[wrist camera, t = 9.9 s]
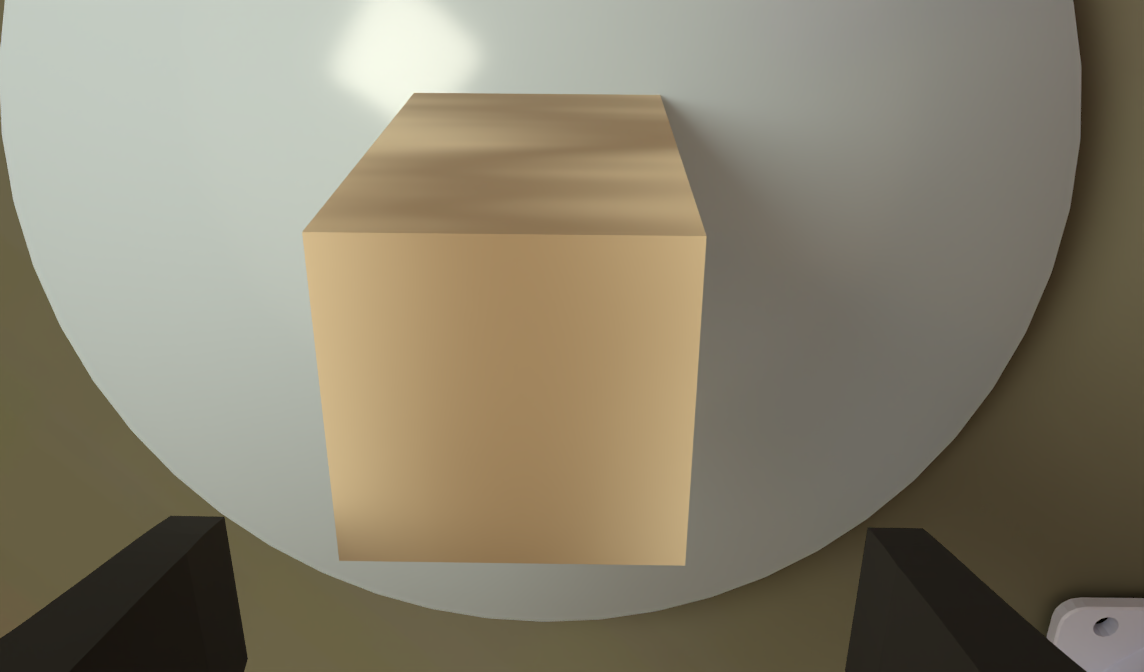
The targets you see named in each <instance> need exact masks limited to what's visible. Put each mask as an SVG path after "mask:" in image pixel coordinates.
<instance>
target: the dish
mask: <svg viewBox="0 0 1144 672" xmlns="http://www.w3.org/2000/svg"><path fill="white" fill-rule="evenodd" d="M1081 68H1082V67H1081V59H1080V51H1079V43H1078V35H1077V27H1076V19H1075V11H1074V3H1073V0H5V6H4V16H3V27H2V37H1V48H0V100H1V125H2V138H3V143H4V149H5V155H6V161H7V166H8V172H9V178H10V184H11V189H12V195H13V201H14V205H15V208H16V211H17V214H18V218H19V221H20V224H21V227H22V231H23V234H24V237H25V240H26V243H27V247H28V250H29V253H30V256H31V260H32V263H33V266H34V268H35V271H36V273H37V275H38V277H39V280H40V282H41V284H42V286H43V288H44V291H45V293H46V295H47V297H48V300H49V302H50V304H51V306H52V308H53V311H54V313H55V315H56V317H57V320H58V322H59V324H60V326H61V328H62V330H63V331H64V333H65V335H66V336H67V338H68V340H69V341H70V343H71V345H72V346H73V348H74V350H75V351H76V353H77V355H78V356H79V358H80V359H81V361H82V363H83V364H84V366H85V368H86V369H87V371H88V373H89V374H90V376H91V378H92V379H93V381H94V382H95V384H96V385H97V386H98V388H99V389H100V390H101V391H102V393H103V394H104V395H105V397H106V398H107V399H108V401H109V402H110V403H111V404H112V406H113V407H114V408H115V410H116V411H117V412H118V413H119V415H120V416H121V417H122V419H123V420H124V421H125V423H126V424H127V425H128V426H129V428H130V429H131V430H132V431H133V432H134V434H135V435H136V436H137V437H138V438H139V439H140V440H141V441H142V442H143V443H144V444H145V445H146V446H147V447H148V448H149V449H150V450H151V451H152V452H153V453H154V454H155V455H156V456H157V457H158V458H159V459H160V460H161V461H162V462H163V463H164V464H165V465H166V466H167V468H168V469H169V470H170V471H171V472H172V473H173V474H174V475H175V476H177V477H178V478H179V479H180V480H181V481H183V482H184V483H185V484H186V485H188V486H189V487H190V488H191V489H192V490H194V491H195V492H196V493H197V494H198V495H200V496H201V497H202V498H203V499H204V500H206V501H207V502H208V503H209V504H210V505H212V506H213V507H214V508H215V509H217V510H218V511H219V512H220V513H221V514H223V515H225V516H226V517H228V518H229V519H231V520H232V521H234V522H235V523H237V524H238V525H240V526H241V527H243V528H244V529H246V530H247V531H249V532H250V533H252V534H253V535H255V536H256V537H258V538H259V539H261V540H262V541H264V542H265V543H267V544H269V545H270V546H272V547H274V548H276V549H278V550H280V551H281V552H283V553H285V554H287V555H289V556H291V557H293V558H295V559H297V560H299V561H301V562H303V563H305V564H307V565H309V566H311V567H312V568H314V569H316V570H318V571H320V572H322V573H325V574H327V575H330V576H332V577H335V578H337V579H340V580H343V581H345V582H348V583H350V584H353V585H355V586H358V587H360V588H363V589H366V590H368V591H371V592H373V593H376V594H379V595H383V596H387V597H390V598H394V599H397V600H401V601H405V602H408V603H412V604H416V605H419V606H423V607H427V608H430V609H435V610H441V611H447V612H453V613H459V614H465V615H471V616H477V617H483V618H492V619H508V620H525V621H541V622H549V621H574V620H598V619H607V618H614V617H620V616H627V615H634V614H641V613H648V612H655V611H659V610H663V609H667V608H671V607H675V606H679V605H683V604H687V603H691V602H695V601H699V600H703V599H706V598H710V597H714V596H716V595H719V594H722V593H724V592H727V591H730V590H732V589H735V588H738V587H740V586H743V585H746V584H748V583H751V582H754V581H757V580H759V579H762V578H765V577H767V576H769V575H771V574H773V573H775V572H777V571H779V570H781V569H783V568H785V567H787V566H789V565H791V564H793V563H795V562H797V561H799V560H801V559H803V558H805V557H807V556H809V555H811V554H813V553H815V552H817V551H819V550H820V549H822V548H823V547H825V546H826V545H828V544H829V543H831V542H832V541H834V540H836V539H837V538H839V537H840V536H842V535H843V534H845V533H846V532H848V531H849V530H851V529H853V528H854V527H856V526H857V525H859V524H860V523H862V522H863V521H865V520H866V519H868V518H869V517H870V516H871V515H873V514H874V513H875V512H876V511H878V510H879V509H880V508H881V507H882V506H884V505H885V504H886V503H887V502H889V501H890V500H891V499H892V498H893V497H895V496H896V495H897V494H898V493H899V492H901V491H902V490H903V489H904V488H906V487H907V486H908V485H909V484H910V483H912V482H913V481H914V480H915V479H916V478H917V477H918V476H919V475H920V474H921V473H922V472H923V471H924V470H925V469H926V468H927V466H928V465H929V464H930V463H931V462H932V461H933V460H934V459H935V458H936V457H937V456H938V455H939V454H940V453H941V452H942V451H943V450H944V449H945V448H946V447H947V446H948V445H949V444H950V443H951V442H952V441H953V440H954V439H955V438H956V436H957V435H958V434H959V432H960V431H961V430H962V428H963V427H964V426H965V424H966V423H967V422H968V421H969V419H970V418H971V417H972V415H973V414H974V413H975V411H976V410H977V409H978V407H979V406H980V405H981V404H982V402H983V401H984V400H985V398H986V397H987V396H988V394H989V393H990V392H991V390H992V389H993V388H994V386H995V384H996V383H997V381H998V379H999V378H1000V376H1001V374H1002V372H1003V371H1004V369H1005V367H1006V366H1007V364H1008V362H1009V360H1010V359H1011V357H1012V355H1013V354H1014V352H1015V350H1016V349H1017V347H1018V345H1019V343H1020V342H1021V340H1022V338H1023V337H1024V335H1025V333H1026V331H1027V329H1028V326H1029V324H1030V322H1031V319H1032V317H1033V315H1034V312H1035V310H1036V308H1037V305H1038V303H1039V301H1040V298H1041V296H1042V294H1043V292H1044V289H1045V287H1046V285H1047V282H1048V280H1049V278H1050V275H1051V273H1052V270H1053V266H1054V263H1055V259H1056V256H1057V252H1058V249H1059V245H1060V242H1061V238H1062V235H1063V231H1064V228H1065V224H1066V221H1067V217H1068V214H1069V210H1070V206H1071V199H1072V193H1073V186H1074V179H1075V172H1076V166H1077V159H1078V152H1079V146H1080V139H1081ZM413 93H501V94H619V95H660V96H661V99H662V102H663V105H664V108H665V111H666V114H667V117H668V120H669V123H670V126H671V129H672V132H673V135H674V138H675V142H676V145H677V148H678V151H679V154H680V157H681V160H682V163H683V166H684V169H685V172H686V175H687V178H688V181H689V184H690V187H691V190H692V193H693V196H694V199H695V202H696V205H697V208H698V211H699V214H700V218H701V221H702V224H703V227H704V230H705V233H706V236H707V238H706V253H705V269H704V284H703V299H702V315H701V330H700V345H699V361H698V376H697V391H696V407H695V422H694V437H693V453H692V468H691V483H690V499H689V514H688V529H687V545H686V560H685V566H674V565H601V564H528V563H455V562H382V561H339V554H338V545H337V537H336V528H335V519H334V510H333V501H332V492H331V484H330V475H329V466H328V457H327V448H326V439H325V431H324V422H323V413H322V404H321V395H320V386H319V378H318V369H317V360H316V351H315V342H314V333H313V325H312V316H311V307H310V298H309V289H308V280H307V271H306V263H305V254H304V245H303V236H302V232H303V230H304V229H305V228H306V227H307V225H308V224H309V223H310V222H311V220H312V219H313V218H314V217H315V215H316V214H317V213H318V212H319V210H320V209H321V208H322V207H323V205H324V204H325V203H326V202H327V200H328V199H329V198H330V197H331V195H332V194H333V193H334V192H335V190H336V189H337V188H338V187H339V185H340V184H341V183H342V182H343V181H344V179H345V178H346V177H347V176H348V174H349V173H350V172H351V171H352V169H353V168H354V167H355V166H356V164H357V163H358V162H359V161H360V159H361V158H362V157H363V156H364V154H365V153H366V152H367V151H368V149H369V148H370V147H371V146H372V144H373V143H374V142H375V141H376V139H377V138H378V137H379V136H380V134H381V133H382V132H383V131H384V129H385V128H386V127H387V126H388V125H389V123H390V122H391V121H392V120H393V118H394V117H395V116H396V115H397V113H398V112H399V111H400V110H401V108H402V107H403V106H404V105H405V103H406V102H407V101H408V100H409V98H410V97H411V96H412V95H413Z"/></svg>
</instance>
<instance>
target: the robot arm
mask: <svg viewBox="0 0 1144 672" xmlns="http://www.w3.org/2000/svg"><path fill="white" fill-rule="evenodd" d="M1106 617H1108V618H1107V620H1105V621H1104V622H1102V623H1099V624H1095V623H1096V622H1097V621H1099V620H1100V619H1102V618H1106ZM247 659H248V658H247V652H246V646H245V640H244V634H243V628H242V622H241V616H240V609H239V603H238V597H237V591H236V585H235V579H234V573H233V567H232V561H231V555H230V549H229V543H228V537H227V531H226V524H225V518H224V517H202V516H170V517H168V518H167V519H165V520H164V521H162V522H161V523H159V524H158V525H156V526H155V527H153V528H152V529H150V530H149V531H148V532H146V533H145V534H143V535H142V536H141V537H139V538H138V539H136V540H135V541H134V542H132V543H131V544H130V545H128V546H127V547H126V548H124V549H123V550H121V551H120V552H119V553H117V554H116V555H115V556H113V557H112V558H111V559H109V560H108V561H107V562H105V563H104V564H103V565H101V566H100V567H99V568H97V569H96V570H95V571H93V572H92V573H91V574H89V575H88V576H87V577H85V578H84V579H83V580H81V581H80V582H78V583H77V584H76V585H74V586H73V587H72V588H70V589H69V590H67V591H66V592H65V593H63V594H62V595H61V596H59V597H58V598H56V599H55V600H54V601H52V602H51V603H50V604H48V605H47V606H46V607H44V608H43V609H41V610H40V611H39V612H37V613H36V614H35V615H33V616H32V617H30V618H29V619H28V620H26V621H25V622H24V623H22V624H21V625H19V626H18V627H17V628H15V629H14V630H12V631H11V632H9V633H8V634H6V635H5V636H3V637H2V638H0V672H244V670H245V666H246V663H247ZM845 671H846V672H1144V598H1088V597H1079V598H1072V599H1069V600H1067V601H1065V602H1062V603H1061V604H1060V605H1059V606H1058V607H1057V608H1056V609H1055V611H1054V613H1053V615H1052V617H1051V621H1050V625H1049V629H1048V633H1047V637H1045V636H1044V635H1042V634H1041V633H1040V632H1039V631H1038V630H1037V629H1035V628H1034V627H1033V626H1032V625H1031V624H1030V623H1028V622H1027V621H1026V620H1025V619H1024V618H1023V617H1022V616H1021V615H1019V614H1018V613H1017V612H1016V611H1015V610H1014V609H1013V608H1011V607H1010V606H1009V605H1008V604H1007V603H1006V602H1005V601H1004V600H1003V599H1001V598H1000V597H999V596H998V595H997V594H996V593H995V592H994V591H993V590H991V589H990V588H989V587H988V586H987V585H986V584H985V583H984V582H983V581H981V580H980V579H979V578H978V577H977V576H976V575H975V574H974V573H973V572H971V571H970V570H969V569H968V568H967V567H966V566H965V565H964V564H963V563H962V562H960V561H959V560H958V559H957V558H956V557H955V556H954V555H953V554H952V553H951V552H949V551H948V550H947V549H946V548H945V547H944V546H943V545H942V544H940V543H939V542H938V541H937V540H936V539H935V538H933V537H932V536H931V535H930V534H929V533H928V532H926V531H925V530H924V529H918V528H868V529H867V535H866V541H865V548H864V554H863V560H862V567H861V573H860V579H859V586H858V592H857V599H856V605H855V611H854V618H853V624H852V630H851V637H850V643H849V649H848V656H847V662H846V668H845Z"/></svg>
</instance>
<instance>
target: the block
mask: <svg viewBox="0 0 1144 672" xmlns="http://www.w3.org/2000/svg"><path fill="white" fill-rule="evenodd" d="M302 236H303V245H304V254H305V263H306V271H307V280H308V289H309V298H310V307H311V316H312V325H313V333H314V342H315V351H316V360H317V369H318V378H319V386H320V395H321V404H322V413H323V422H324V431H325V439H326V448H327V457H328V466H329V475H330V484H331V492H332V501H333V510H334V519H335V528H336V537H337V545H338V554H339V561H382V562H455V563H528V564H601V565H674V566H685V560H686V545H687V529H688V514H689V499H690V483H691V468H692V453H693V437H694V422H695V407H696V391H697V376H698V361H699V345H700V330H701V315H702V299H703V284H704V269H705V253H706V238H707V236H706V233H705V230H704V227H703V224H702V221H701V218H700V214H699V211H698V208H697V205H696V202H695V199H694V196H693V193H692V190H691V187H690V184H689V181H688V178H687V175H686V172H685V169H684V166H683V163H682V160H681V157H680V154H679V151H678V148H677V145H676V142H675V138H674V135H673V132H672V129H671V126H670V123H669V120H668V117H667V114H666V111H665V108H664V105H663V102H662V99H661V96H660V95H619V94H501V93H413V95H412V96H411V97H410V98H409V100H408V101H407V102H406V103H405V105H404V106H403V107H402V108H401V110H400V111H399V112H398V113H397V115H396V116H395V117H394V118H393V120H392V121H391V122H390V123H389V125H388V126H387V127H386V128H385V129H384V131H383V132H382V133H381V134H380V136H379V137H378V138H377V139H376V141H375V142H374V143H373V144H372V146H371V147H370V148H369V149H368V151H367V152H366V153H365V154H364V156H363V157H362V158H361V159H360V161H359V162H358V163H357V164H356V166H355V167H354V168H353V169H352V171H351V172H350V173H349V174H348V176H347V177H346V178H345V179H344V181H343V182H342V183H341V184H340V185H339V187H338V188H337V189H336V190H335V192H334V193H333V194H332V195H331V197H330V198H329V199H328V200H327V202H326V203H325V204H324V205H323V207H322V208H321V209H320V210H319V212H318V213H317V214H316V215H315V217H314V218H313V219H312V220H311V222H310V223H309V224H308V225H307V227H306V228H305V229H304V230H303V232H302Z"/></svg>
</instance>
